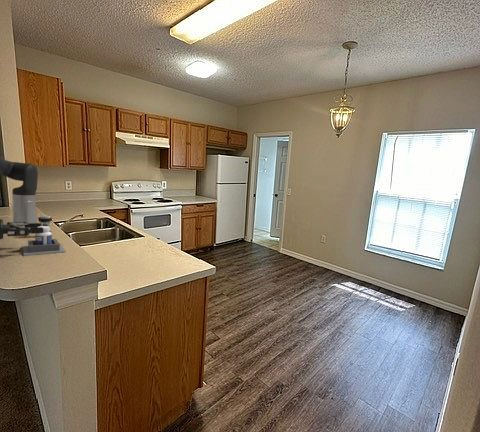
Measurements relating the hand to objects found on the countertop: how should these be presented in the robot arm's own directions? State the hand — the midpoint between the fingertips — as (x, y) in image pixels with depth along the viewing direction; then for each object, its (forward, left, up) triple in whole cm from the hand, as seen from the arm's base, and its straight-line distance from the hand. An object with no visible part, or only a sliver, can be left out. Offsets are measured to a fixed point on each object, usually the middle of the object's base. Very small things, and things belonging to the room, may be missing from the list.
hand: (42, 227), depth 104 cm
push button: (-19, -12, -9) cm, 25 cm away
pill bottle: (0, 0, -9) cm, 9 cm away
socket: (0, 0, -9) cm, 9 cm away
